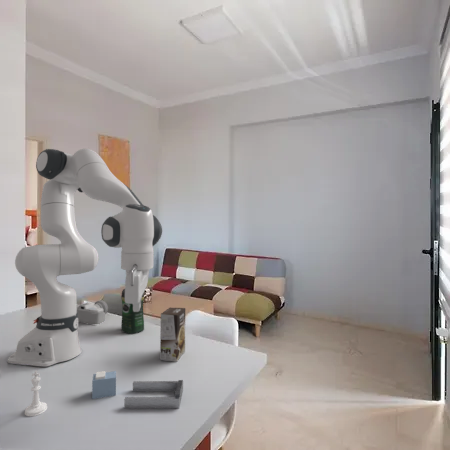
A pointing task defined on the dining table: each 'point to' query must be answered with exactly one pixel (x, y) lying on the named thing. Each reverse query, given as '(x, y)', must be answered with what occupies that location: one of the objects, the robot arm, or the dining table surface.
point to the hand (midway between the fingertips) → (136, 310)
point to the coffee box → (172, 334)
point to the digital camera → (92, 312)
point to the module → (104, 384)
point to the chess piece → (36, 399)
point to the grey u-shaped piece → (155, 401)
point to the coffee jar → (131, 317)
